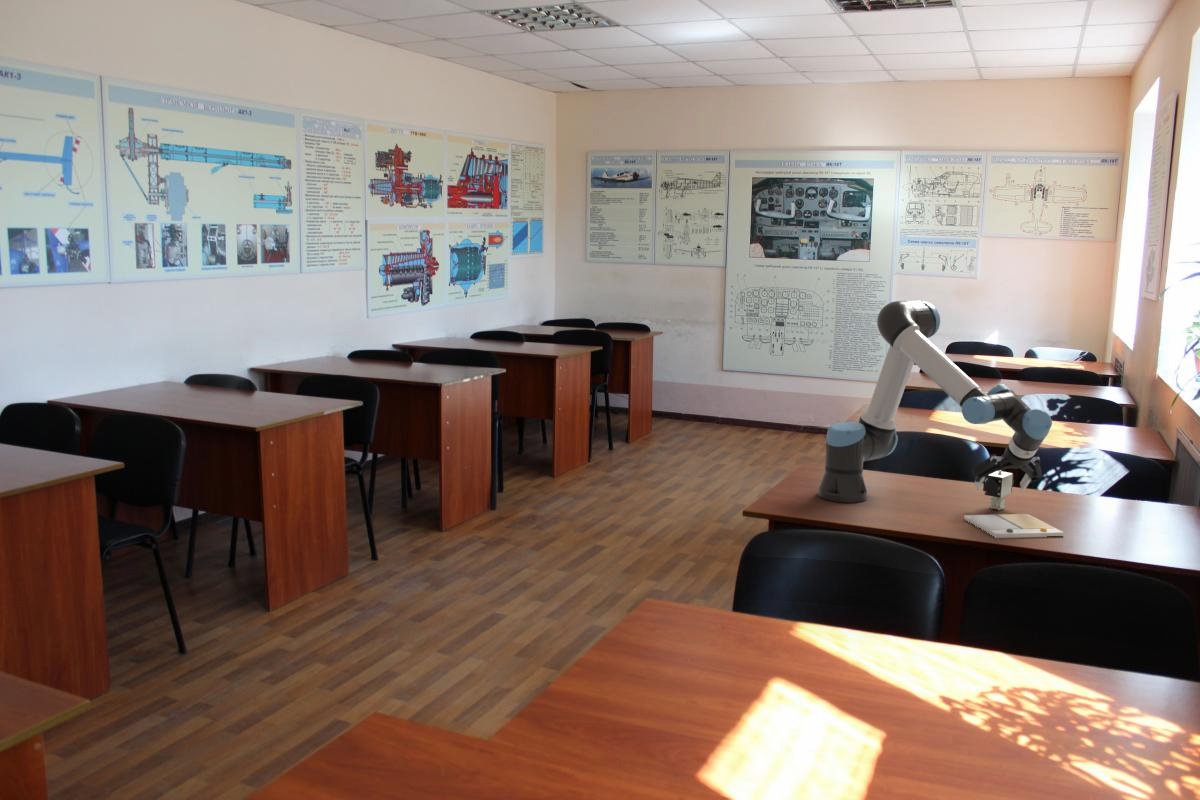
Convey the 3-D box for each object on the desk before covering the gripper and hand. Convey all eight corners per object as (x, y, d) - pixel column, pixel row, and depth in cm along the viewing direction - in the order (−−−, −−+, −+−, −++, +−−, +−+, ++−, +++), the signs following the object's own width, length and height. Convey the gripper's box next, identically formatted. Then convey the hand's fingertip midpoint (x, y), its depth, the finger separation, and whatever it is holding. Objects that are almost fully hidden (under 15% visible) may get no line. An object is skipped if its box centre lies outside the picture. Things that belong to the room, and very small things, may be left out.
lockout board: (963, 519, 280) (964, 512, 280) (1027, 518, 283) (1028, 511, 282) (995, 538, 263) (996, 530, 262) (1063, 536, 265) (1064, 529, 265)
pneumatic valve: (1012, 506, 295) (1015, 468, 293) (996, 513, 287) (1000, 475, 285) (994, 503, 299) (997, 465, 297) (978, 510, 291) (981, 471, 289)
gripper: (979, 458, 273) (959, 495, 290) (1069, 460, 271) (1043, 498, 288) (975, 436, 277) (955, 474, 294) (1063, 439, 276) (1038, 477, 293)
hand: (999, 486), depth 291 cm, fingers open, 13 cm apart
